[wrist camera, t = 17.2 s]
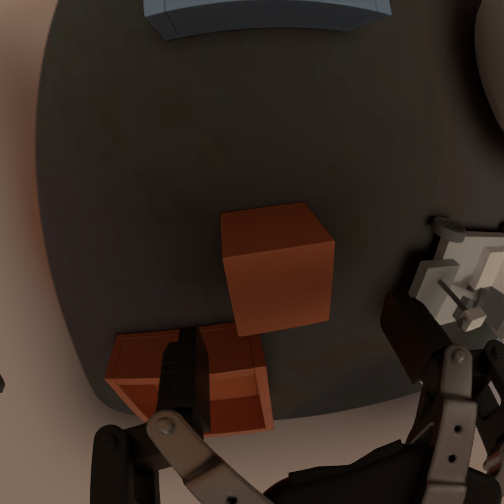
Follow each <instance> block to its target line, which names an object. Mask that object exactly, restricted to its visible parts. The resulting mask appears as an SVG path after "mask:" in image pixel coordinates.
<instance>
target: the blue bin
mask: <svg viewBox="0 0 504 504" xmlns="http://www.w3.org/2000/svg"><path fill="white" fill-rule="evenodd" d="M143 2H144V16H145V18H146V19H147V20H148V21H149V22H150V23H151V24H152V26H153V27H154V28H155V29H156V30H157V31H158V33H159V34H160V35H161V36H162V37H163V38H164V39H165V40H166V41H167V40H171V39H176V38H181V37H186V36H191V35H197V34H203V33H210V32H217V31H226V30H236V29H249V28H274V27H291V28H315V29H328V30H338V31H346V32H349V31H351V30H354V29H356V28H359V27H361V26H364V25H366V24H369V23H371V22H374V21H377V20H379V19H382V18H385V17H388V16H391V15H392V13H391V8H390V3H389V0H143Z"/></svg>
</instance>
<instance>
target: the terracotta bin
mask: <svg viewBox="0 0 504 504" xmlns="http://www.w3.org/2000/svg"><path fill="white" fill-rule="evenodd" d="M199 329H200V332H201V335H202V337H203V340H204V343H205V346H206V348H207V352H208V357H209V382H210V418H211V432H203V433H204V437H218V436H230V435H239V434H247V433H255V432H262V431H268V430H274V423H273V415H272V407H271V399H270V391H269V383H268V375H267V367H266V362H265V357H264V352H263V346H262V341H261V336H260V334H253V335H247V336H240V337H239V336H238V332H237V327H236V323H235V322H231V323H223V324H216V325H209V326H201V327H199ZM179 330H180V329H175V330H165V331H155V332H144V333H131V334H117V336H116V340H115V343H114V346H113V349H112V353H111V356H110V360H109V364H108V367H107V371H106V375H105V380H106V381H107V382H108V384H109V385H110V386H111V387H112V388H113V390H114V391H115V392H116V393H117V394H118V395H119V396H120V398H121V399H122V400H123V401H124V402H125V403H126V404H127V405H128V406H129V407H130V409H131V410H132V411H133V412H134V413H135V414H136V415H137V416H138V417H139V418H140V419H141V420H142V421H143V422H144V423H145V422H147V421H148V420H149V418H150V417H151V416H152V415H153V414H154V413H155V411H156V407H157V399H158V390H159V381H160V375H161V366H162V357H163V352H164V350H165V349H166V347H167V345H168V344H169V342H178V336H179Z"/></svg>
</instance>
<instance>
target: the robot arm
mask: <svg viewBox="0 0 504 504" xmlns="http://www.w3.org/2000/svg"><path fill="white" fill-rule="evenodd" d="M380 324H381V328H382V330H383V332H384V334H385V335H386V337H387V339H388V340H389V342H390V344H391V346H392V347H393V349H394V351H395V353H396V354H397V356H398V358H399V360H400V362H401V363H402V365H403V367H404V369H405V371H406V373H407V375H408V376H409V378H410V380H411V382H412V384H413V385H415V384H417V383H419V382H421V381H422V383H423V387H422V390H421V395H420V400H419V405H418V409H417V414H416V418H415V422H414V425H413V427H412V429H411V431H410V433H409V435H408V437H407V440H406V442H405V444H402V442H401V440H400V439H399V440H397V441H394V442H392V443H389V444H387V445H384V446H382V447H379V448H377V449H375V450H373V451H372V452H370V453H369V454H367V455H365V456H364V457H362V458H361V459H359V460H357V461H356V462H354V463H352V464H350V465H340V466H319V467H314V468H310V469H305V470H300V471H295V472H290V473H289V476H288V477H287V478H285V479H283V480H281V481H279V482H277V483H275V484H274V485H272V486H271V487H270V488H268V489H267V490H266V491H265V492H264V493H263V494H262V493H260V492H259V491H258V490H256V489H255V488H254V487H253V486H252V485H251V484H250V483H248V482H247V481H246V480H245V479H244V478H243V477H242V476H240V475H239V474H238V473H237V472H236V471H235V470H234V469H233V468H231V466H229V465H228V464H227V463H226V462H225V461H224V460H223V459H222V458H221V457H220V456H218V455H217V454H216V453H215V452H214V451H213V450H212V449H211V448H210V447H209V446H208V445H207V444H206V443H205V441H204V433H203V432H211V418H210V382H209V357H208V352H207V348H206V346H205V343H204V340H203V337H202V335H201V332H200V329H199V327H198V326H197V327H189V328H180V330H179V336H178V342H169V344H168V345H167V347H166V349H165V350H164V352H163V357H162V366H161V375H160V381H159V390H158V399H157V407H156V411H155V413H154V414H153V415H152V416H151V417H150V418H149V420H148V421H147V422H145V423H144V424H141V425H138V426H135V427H131V428H127V429H121V428H120V427H118V426H116V425H105V426H103V427H101V428H100V429H99V430H98V431H97V432H96V434H95V437H94V444H93V454H92V465H91V483H90V504H160V492H159V472H158V470H161V469H164V468H168V467H173V468H174V470H175V471H176V472H177V473H178V474H179V476H180V477H181V478H182V480H183V483H184V485H185V486H186V487H187V489H188V490H189V491H190V492H191V493H192V494H193V495H194V496H195V497H196V498H197V500H198V501H199V502H200V503H201V504H501V500H502V497H503V496H504V344H503V343H501V342H500V341H498V340H490V341H488V342H487V343H486V345H485V347H484V348H483V349H478V350H468V348H466V347H465V346H464V345H461V344H453V342H452V341H451V340H450V338H449V337H448V336H447V334H446V333H445V331H444V330H443V329H442V327H441V326H440V325H439V323H438V322H437V321H436V320H435V319H434V317H433V315H432V314H431V313H430V311H429V310H428V309H427V307H426V306H425V305H424V304H423V303H422V302H421V301H419V300H418V299H416V298H415V297H413V298H411V297H410V295H409V294H408V293H407V291H406V290H405V289H398V290H395V291H391V292H388V293H387V294H386V297H385V301H384V305H383V309H382V313H381V317H380ZM490 381H492V383H493V385H494V386H495V388H496V390H497V392H498V394H499V395H500V398H501V405H500V406H499V405H498V403H497V401H496V399H495V397H494V395H493V393H492V391H491V389H490V387H489V385H488V384H489V383H490ZM475 425H476V427H477V429H478V432H479V434H480V436H481V439H482V441H483V444H484V446H485V449H486V452H487V459H486V460H485V462H484V463H483V469H484V470H486V471H487V474H485V473H483V472H480V471H478V470H475V469H473V468H471V467H468V466H469V462H470V457H471V451H472V446H473V439H474V433H475Z"/></svg>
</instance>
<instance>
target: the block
mask: <svg viewBox="0 0 504 504" xmlns="http://www.w3.org/2000/svg"><path fill="white" fill-rule="evenodd" d="M220 215H221V239H222V259H223V264H224V269H225V274H226V279H227V284H228V289H229V294H230V299H231V304H232V309H233V313H234V318H235V323H236V327H237V332H238V336H239V337H240V336H247V335H253V334H260V333H266V332H271V331H277V330H283V329H288V328H293V327H298V326H304V325H309V324H313V323H318V322H323V321H327V320H329V313H330V303H331V292H332V279H333V265H334V248H335V241H334V239H333V238H332V237H331V235H330V234H329V233H328V231H327V230H326V229H325V228H324V226H323V225H322V224H321V223H320V221H319V220H318V219H317V218H316V216H315V215H314V214H313V213H312V211H311V210H310V209H309V208H308V206H307V205H306V204H305V203H304V202H299V203H291V204H283V205H276V206H268V207H261V208H254V209H247V210H241V211H234V212H227V213H221V214H220Z"/></svg>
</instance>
